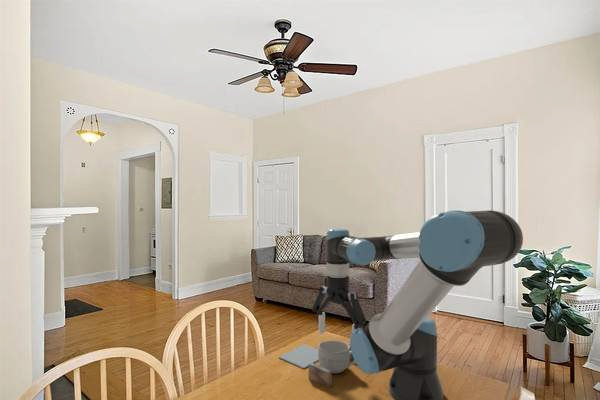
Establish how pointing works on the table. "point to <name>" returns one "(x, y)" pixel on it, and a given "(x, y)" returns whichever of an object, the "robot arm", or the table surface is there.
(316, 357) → the mat
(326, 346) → the teacup
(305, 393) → the table surface
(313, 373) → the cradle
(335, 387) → the table surface
